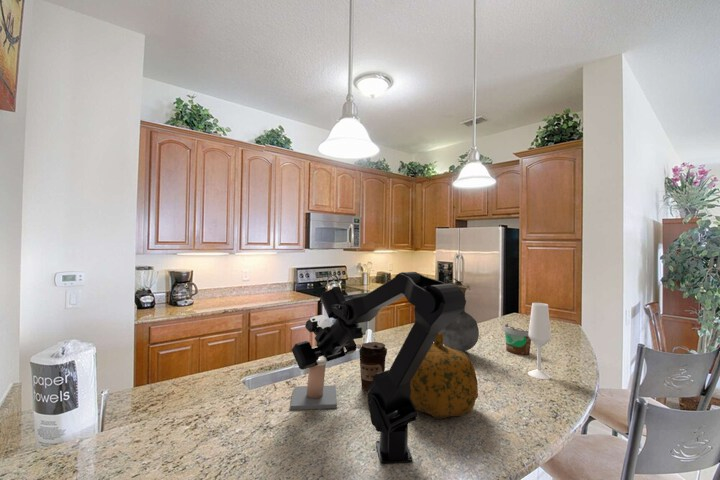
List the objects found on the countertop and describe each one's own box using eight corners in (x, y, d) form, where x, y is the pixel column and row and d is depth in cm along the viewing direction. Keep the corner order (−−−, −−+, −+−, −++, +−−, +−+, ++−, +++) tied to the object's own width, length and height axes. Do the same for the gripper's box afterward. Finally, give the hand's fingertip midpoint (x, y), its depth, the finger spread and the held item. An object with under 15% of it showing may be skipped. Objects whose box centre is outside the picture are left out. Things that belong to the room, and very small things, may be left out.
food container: (496, 348, 133) (496, 324, 133) (506, 346, 136) (506, 323, 136) (522, 358, 122) (522, 332, 122) (532, 356, 125) (533, 331, 125)
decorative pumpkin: (398, 423, 74) (403, 337, 76) (399, 390, 95) (403, 323, 97) (487, 436, 71) (490, 346, 73) (468, 399, 92) (471, 329, 94)
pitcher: (461, 362, 116) (462, 281, 116) (428, 346, 133) (430, 276, 134) (482, 358, 121) (484, 280, 121) (448, 343, 138) (449, 275, 138)
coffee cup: (384, 396, 89) (385, 350, 89) (355, 393, 91) (356, 348, 91) (387, 383, 97) (388, 341, 98) (361, 380, 99) (362, 339, 99)
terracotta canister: (320, 400, 84) (323, 364, 84) (303, 396, 85) (306, 361, 85) (325, 391, 89) (328, 357, 88) (309, 388, 90) (312, 354, 89)
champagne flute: (530, 377, 104) (531, 305, 105) (525, 369, 111) (526, 301, 111) (553, 380, 102) (554, 306, 103) (547, 372, 109) (548, 303, 109)
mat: (336, 408, 82) (336, 404, 82) (290, 409, 81) (290, 405, 81) (335, 388, 93) (335, 385, 93) (294, 389, 92) (294, 386, 92)
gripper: (350, 303, 91) (325, 333, 99) (296, 312, 78) (272, 346, 85) (370, 336, 86) (341, 365, 93) (316, 352, 72) (287, 385, 80)
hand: (312, 364), depth 88 cm, fingers open, 6 cm apart
